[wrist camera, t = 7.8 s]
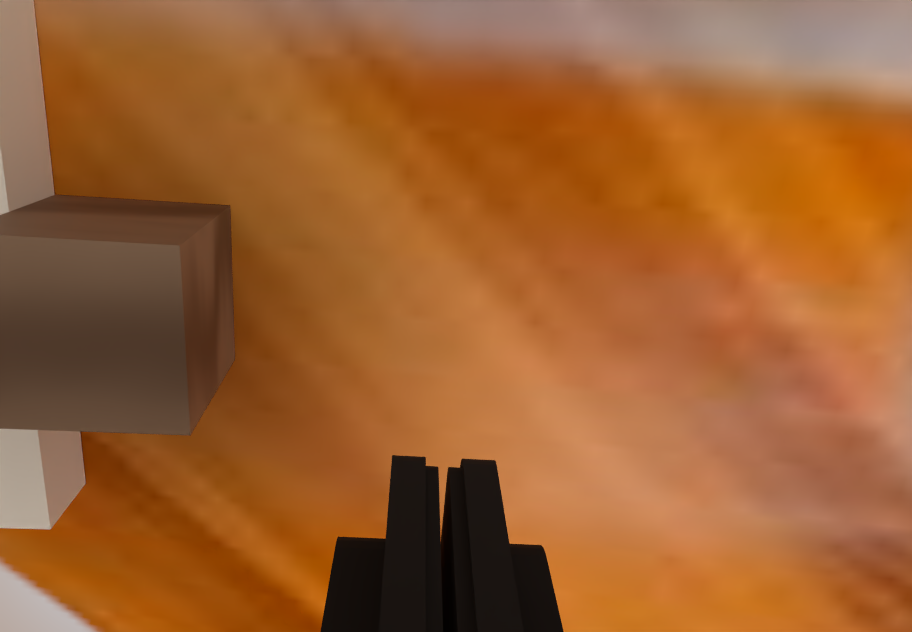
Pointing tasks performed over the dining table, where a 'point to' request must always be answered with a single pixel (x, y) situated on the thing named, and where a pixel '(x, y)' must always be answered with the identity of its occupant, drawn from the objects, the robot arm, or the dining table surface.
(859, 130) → the dining table surface
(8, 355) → the block
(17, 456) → the white bar
